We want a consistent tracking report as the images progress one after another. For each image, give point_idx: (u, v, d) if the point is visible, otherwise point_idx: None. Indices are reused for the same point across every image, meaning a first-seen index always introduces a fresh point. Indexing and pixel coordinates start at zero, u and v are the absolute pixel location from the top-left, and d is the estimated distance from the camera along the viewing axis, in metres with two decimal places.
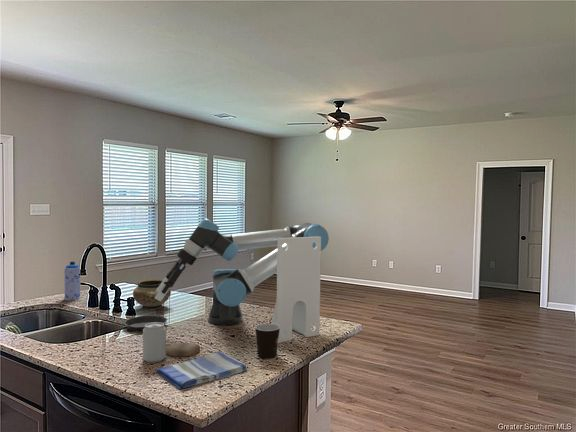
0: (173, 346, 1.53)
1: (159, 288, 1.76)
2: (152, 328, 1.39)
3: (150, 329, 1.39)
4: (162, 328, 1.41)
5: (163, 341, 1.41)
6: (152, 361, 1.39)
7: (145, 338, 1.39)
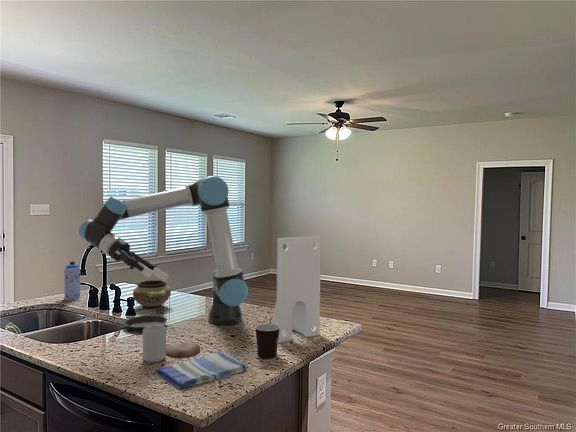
0: (173, 346, 1.53)
1: (162, 278, 1.59)
2: (152, 328, 1.39)
3: (150, 329, 1.39)
4: (162, 328, 1.41)
5: (163, 341, 1.41)
6: (152, 361, 1.39)
7: (145, 338, 1.39)
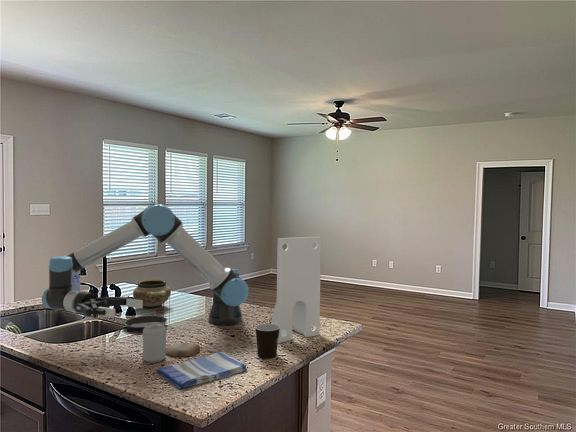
0: (173, 346, 1.53)
1: (137, 305, 1.52)
2: (152, 328, 1.39)
3: (150, 329, 1.39)
4: (162, 328, 1.41)
5: (163, 341, 1.41)
6: (152, 361, 1.39)
7: (145, 338, 1.39)
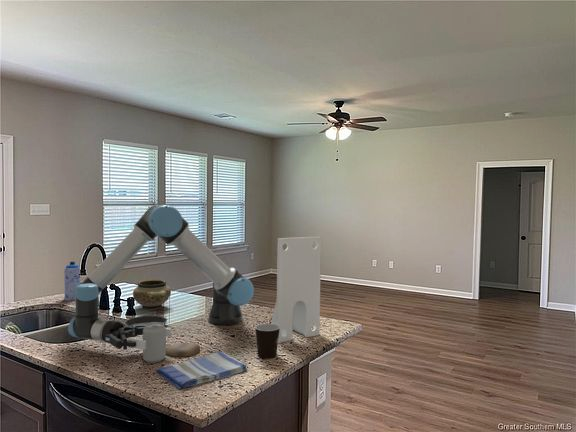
0: (173, 346, 1.53)
1: (166, 334, 1.48)
2: (152, 328, 1.39)
3: (150, 329, 1.39)
4: (162, 328, 1.41)
5: (163, 341, 1.41)
6: (152, 361, 1.39)
7: (145, 338, 1.39)
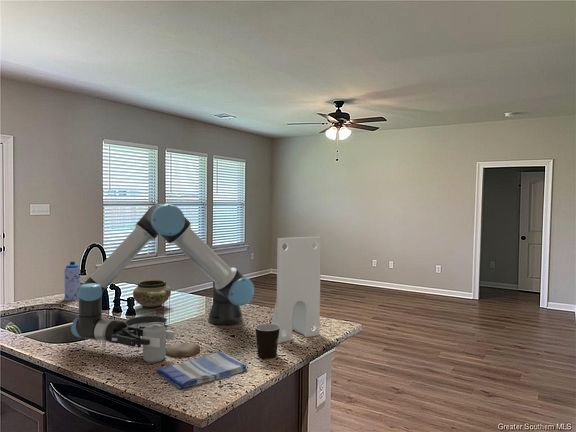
0: (173, 346, 1.53)
1: (169, 337, 1.45)
2: (152, 328, 1.39)
3: (150, 329, 1.39)
4: (162, 328, 1.41)
5: (163, 341, 1.41)
6: (152, 361, 1.39)
7: None
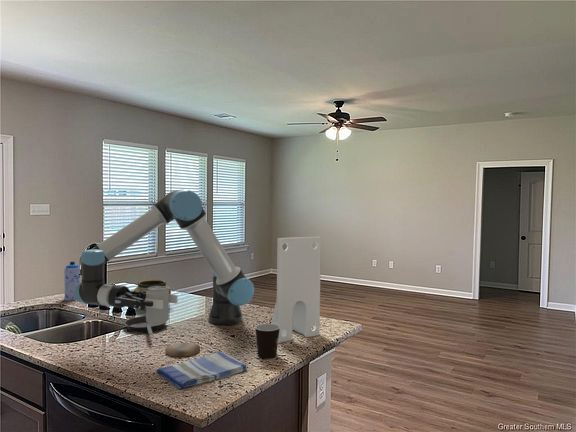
0: (173, 346, 1.53)
1: (172, 301, 1.45)
2: (155, 290, 1.40)
3: (153, 291, 1.40)
4: (165, 291, 1.42)
5: (166, 304, 1.42)
6: (156, 323, 1.40)
7: None
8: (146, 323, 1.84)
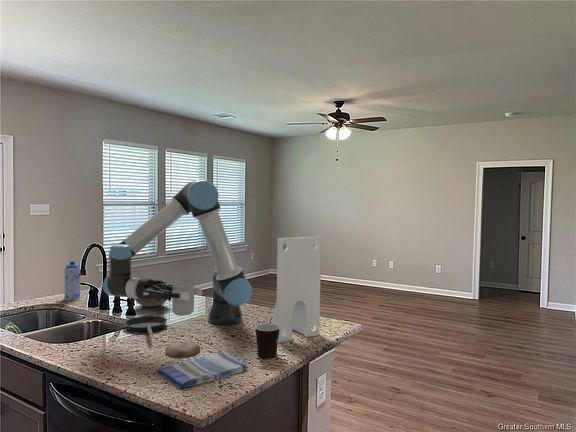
0: (173, 346, 1.53)
1: (197, 293, 1.53)
2: (182, 283, 1.47)
3: (180, 284, 1.47)
4: (191, 283, 1.49)
5: (192, 296, 1.49)
6: (182, 314, 1.47)
7: None
8: (146, 323, 1.83)
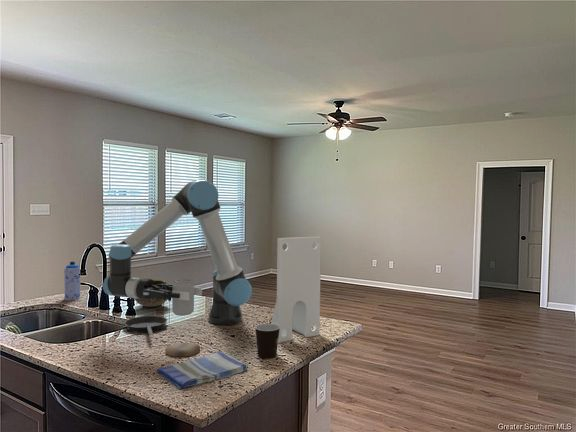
0: (173, 346, 1.53)
1: (197, 293, 1.53)
2: (181, 283, 1.47)
3: (180, 284, 1.47)
4: (191, 283, 1.49)
5: (192, 296, 1.49)
6: (182, 314, 1.47)
7: None
8: (146, 323, 1.83)
